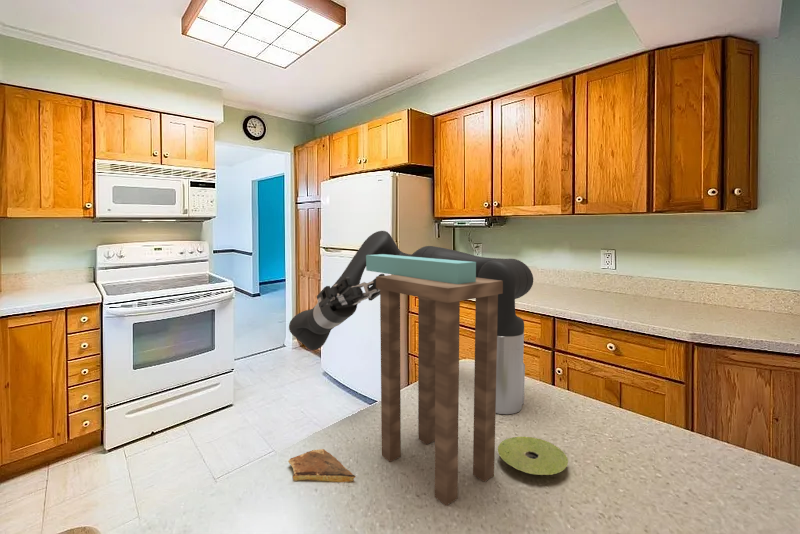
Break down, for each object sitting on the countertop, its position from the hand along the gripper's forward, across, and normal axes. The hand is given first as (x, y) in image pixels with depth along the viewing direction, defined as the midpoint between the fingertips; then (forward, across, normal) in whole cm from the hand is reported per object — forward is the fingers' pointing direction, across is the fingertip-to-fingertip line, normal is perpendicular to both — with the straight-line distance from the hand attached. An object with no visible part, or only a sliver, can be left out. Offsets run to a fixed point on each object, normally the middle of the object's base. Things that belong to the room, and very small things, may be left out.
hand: (367, 279), depth 79 cm
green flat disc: (+11, +13, +41) cm, 45 cm away
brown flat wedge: (-8, -15, +31) cm, 35 cm away
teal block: (+14, 0, +6) cm, 15 cm away
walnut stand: (+3, 0, +36) cm, 36 cm away
